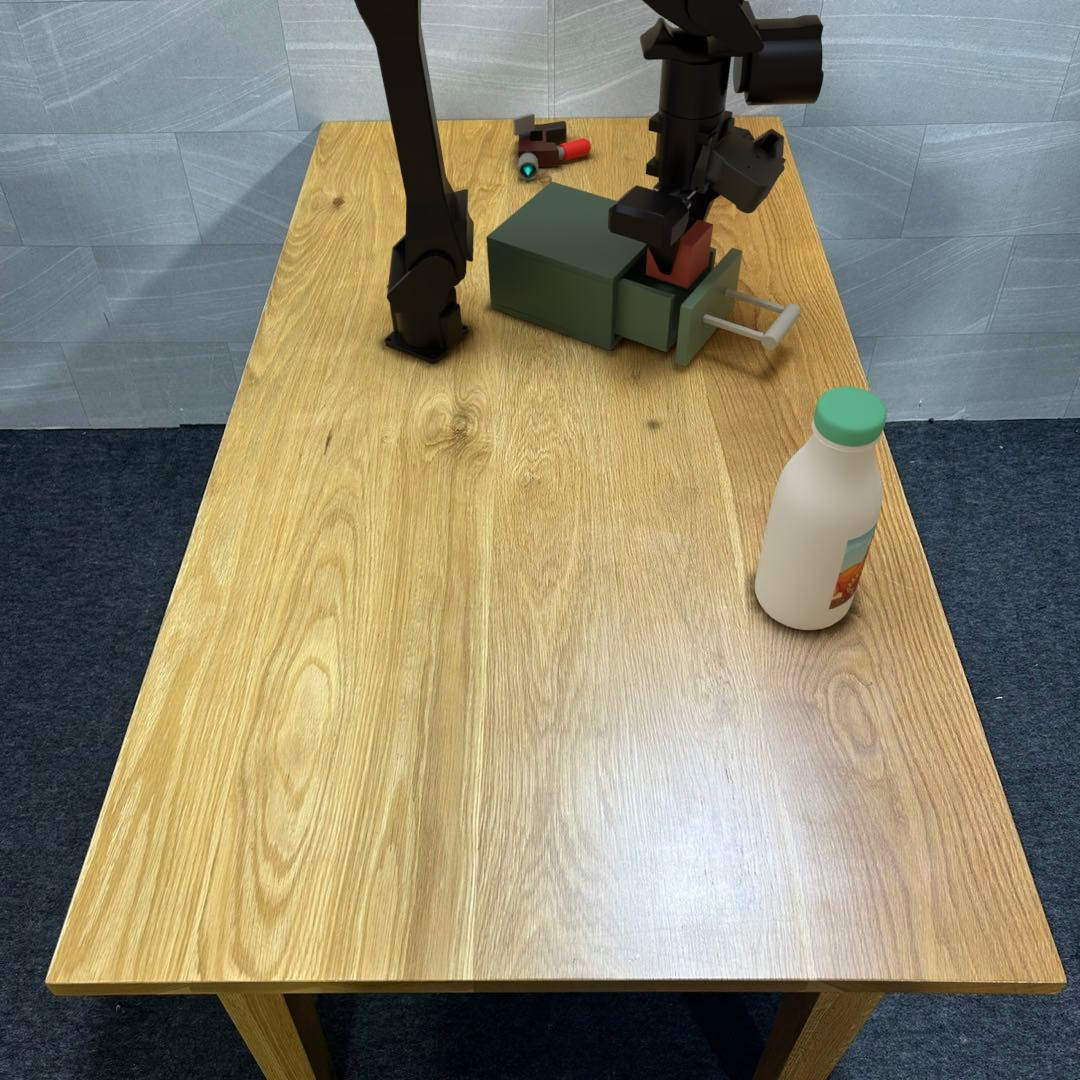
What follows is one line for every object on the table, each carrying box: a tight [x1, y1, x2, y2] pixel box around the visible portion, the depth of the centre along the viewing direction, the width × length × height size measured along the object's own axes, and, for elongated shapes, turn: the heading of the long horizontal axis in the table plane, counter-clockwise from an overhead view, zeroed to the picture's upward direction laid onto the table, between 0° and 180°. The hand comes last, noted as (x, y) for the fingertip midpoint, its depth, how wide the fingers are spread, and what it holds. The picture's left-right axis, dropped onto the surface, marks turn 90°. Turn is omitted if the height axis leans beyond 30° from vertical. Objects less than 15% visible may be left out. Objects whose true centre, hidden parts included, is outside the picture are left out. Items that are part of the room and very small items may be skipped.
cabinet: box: [485, 181, 648, 352], centre depth 108 cm, size 15×13×9 cm
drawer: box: [614, 246, 802, 367], centre depth 103 cm, size 21×11×7 cm, turn 58°
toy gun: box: [512, 113, 592, 181], centre depth 129 cm, size 10×12×5 cm
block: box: [646, 217, 714, 288], centre depth 100 cm, size 5×5×5 cm
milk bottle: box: [754, 385, 888, 631], centre depth 76 cm, size 8×8×20 cm
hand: (677, 261), depth 101 cm, fingers closed on block, 4 cm apart
